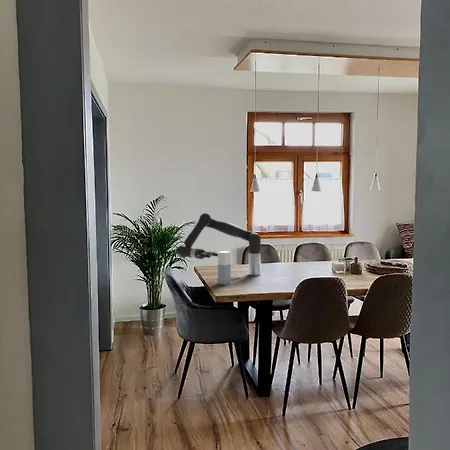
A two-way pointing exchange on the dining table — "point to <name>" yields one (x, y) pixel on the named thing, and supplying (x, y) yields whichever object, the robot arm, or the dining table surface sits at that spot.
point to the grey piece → (224, 274)
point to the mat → (234, 278)
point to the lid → (223, 258)
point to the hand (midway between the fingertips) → (213, 255)
